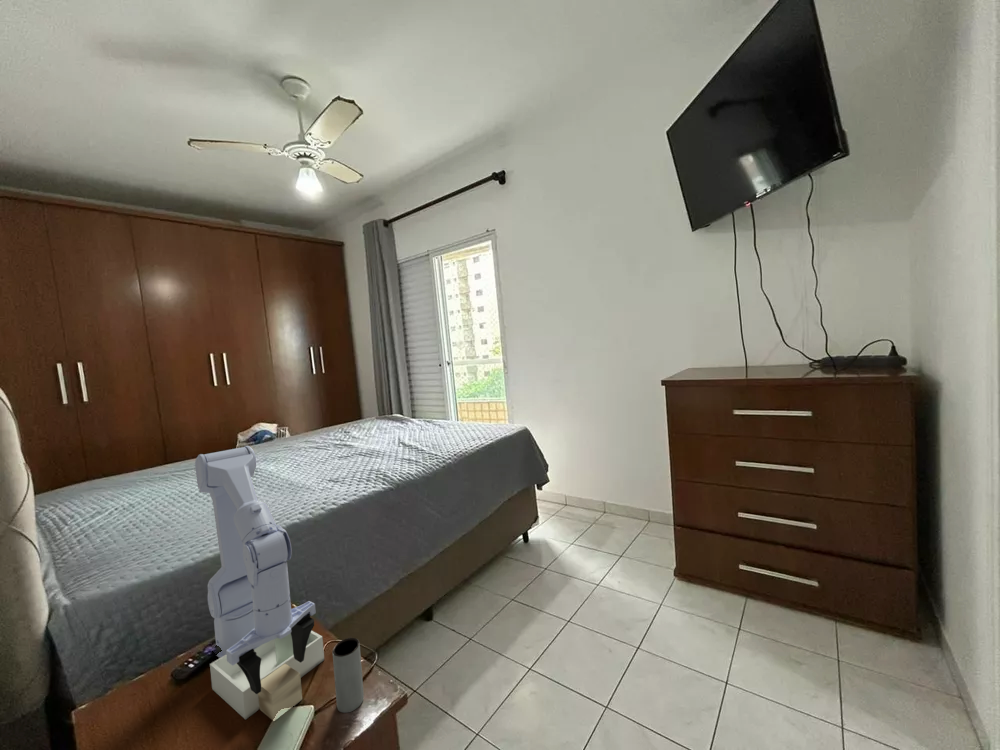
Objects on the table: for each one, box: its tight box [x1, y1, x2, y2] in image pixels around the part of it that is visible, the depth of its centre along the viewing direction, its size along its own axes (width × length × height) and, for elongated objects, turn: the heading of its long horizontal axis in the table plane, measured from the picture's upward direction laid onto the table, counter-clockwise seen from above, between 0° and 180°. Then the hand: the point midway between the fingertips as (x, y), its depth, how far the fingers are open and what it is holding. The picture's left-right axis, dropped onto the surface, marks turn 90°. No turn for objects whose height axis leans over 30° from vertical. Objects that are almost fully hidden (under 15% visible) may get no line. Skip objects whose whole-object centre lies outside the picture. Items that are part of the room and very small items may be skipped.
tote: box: [209, 630, 325, 720], centre depth 77 cm, size 13×15×5 cm
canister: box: [275, 633, 294, 666], centre depth 79 cm, size 5×5×7 cm
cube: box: [258, 664, 303, 721], centre depth 70 cm, size 5×5×5 cm
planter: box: [332, 637, 365, 714], centre depth 69 cm, size 4×4×10 cm
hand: (278, 674), depth 70 cm, fingers open, 7 cm apart
